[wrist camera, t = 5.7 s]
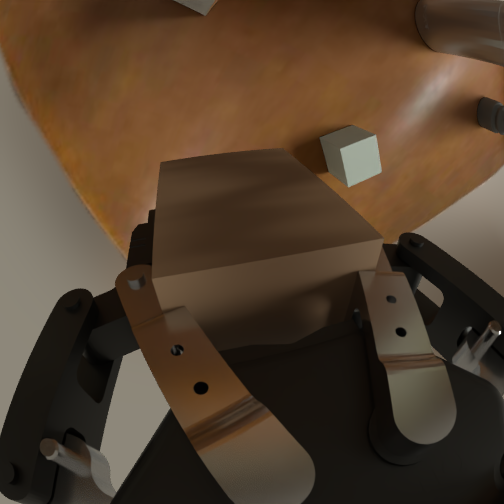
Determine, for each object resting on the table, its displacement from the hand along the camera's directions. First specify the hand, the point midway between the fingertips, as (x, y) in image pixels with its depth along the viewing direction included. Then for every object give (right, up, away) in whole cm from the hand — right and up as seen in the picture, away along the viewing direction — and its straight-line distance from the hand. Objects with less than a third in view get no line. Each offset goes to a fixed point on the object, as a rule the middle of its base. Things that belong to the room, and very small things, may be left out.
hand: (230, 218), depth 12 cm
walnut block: (0, +1, +1) cm, 1 cm away
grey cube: (+12, +12, +22) cm, 28 cm away
